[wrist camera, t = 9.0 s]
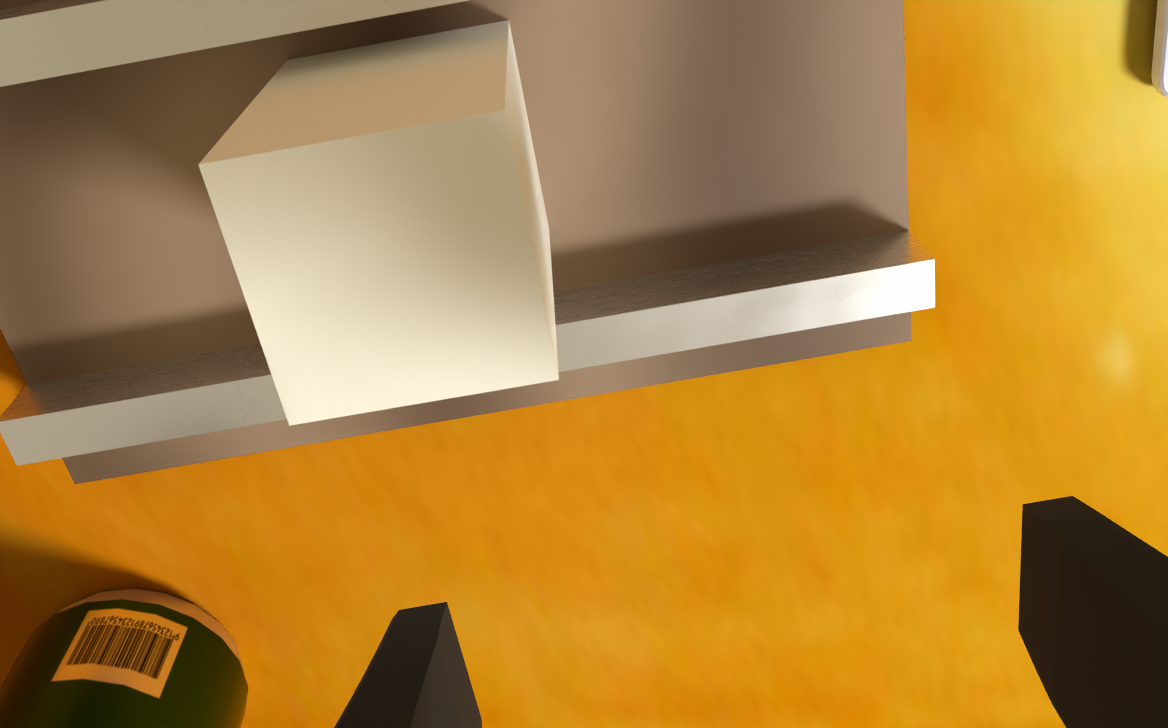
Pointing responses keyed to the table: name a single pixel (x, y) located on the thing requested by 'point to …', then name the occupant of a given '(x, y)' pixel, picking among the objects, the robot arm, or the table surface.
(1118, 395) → the table surface
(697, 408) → the table surface
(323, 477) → the table surface
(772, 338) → the track
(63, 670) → the beer can
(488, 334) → the cream block
